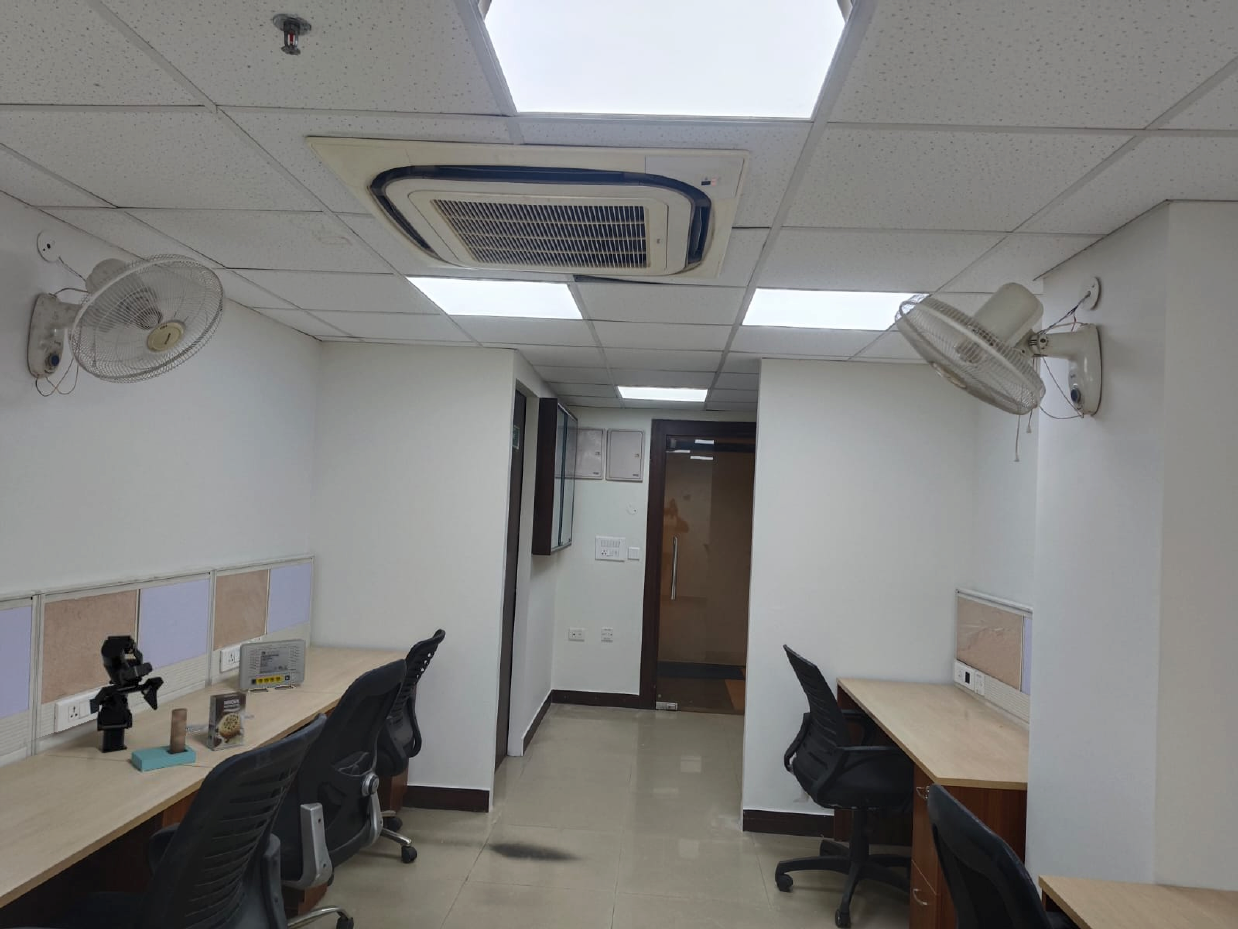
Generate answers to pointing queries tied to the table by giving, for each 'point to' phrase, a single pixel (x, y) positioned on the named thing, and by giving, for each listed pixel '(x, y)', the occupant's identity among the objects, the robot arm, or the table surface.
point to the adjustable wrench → (206, 725)
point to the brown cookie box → (226, 721)
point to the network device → (271, 663)
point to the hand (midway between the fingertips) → (142, 712)
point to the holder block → (161, 757)
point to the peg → (178, 731)
